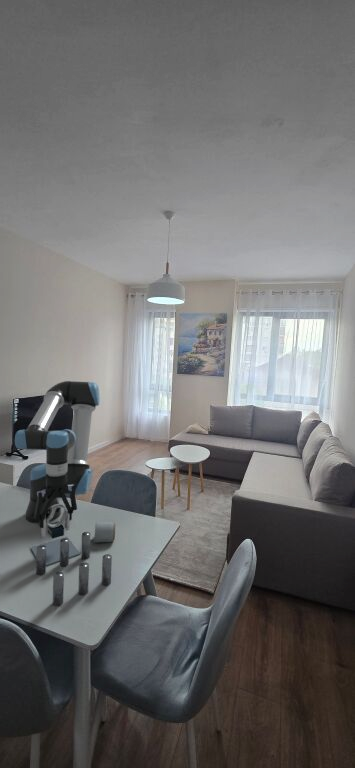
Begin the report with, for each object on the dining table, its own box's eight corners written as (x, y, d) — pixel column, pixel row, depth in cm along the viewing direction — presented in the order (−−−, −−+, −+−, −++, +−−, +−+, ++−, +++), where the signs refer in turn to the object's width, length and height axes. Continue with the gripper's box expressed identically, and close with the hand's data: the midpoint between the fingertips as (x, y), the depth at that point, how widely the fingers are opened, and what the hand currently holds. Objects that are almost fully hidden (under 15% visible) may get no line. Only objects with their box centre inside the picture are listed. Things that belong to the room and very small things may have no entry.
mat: (30, 548, 129) (30, 547, 129) (66, 537, 137) (66, 536, 137) (41, 567, 118) (41, 566, 118) (80, 554, 126) (80, 553, 126)
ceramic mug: (115, 545, 134) (115, 526, 133) (93, 546, 132) (94, 527, 132) (114, 531, 144) (115, 514, 144) (94, 532, 142) (95, 515, 142)
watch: (42, 533, 126) (42, 505, 126) (63, 527, 131) (64, 500, 130) (46, 540, 122) (47, 511, 121) (68, 534, 127) (69, 506, 126)
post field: (35, 571, 115) (35, 546, 115) (87, 553, 127) (88, 531, 126) (54, 607, 100) (55, 579, 99) (112, 583, 112) (113, 557, 111)
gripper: (30, 481, 115) (28, 545, 117) (87, 471, 128) (85, 528, 130) (24, 475, 121) (23, 535, 123) (79, 465, 134) (78, 520, 136)
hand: (55, 532), depth 127 cm, fingers closed on watch, 8 cm apart
